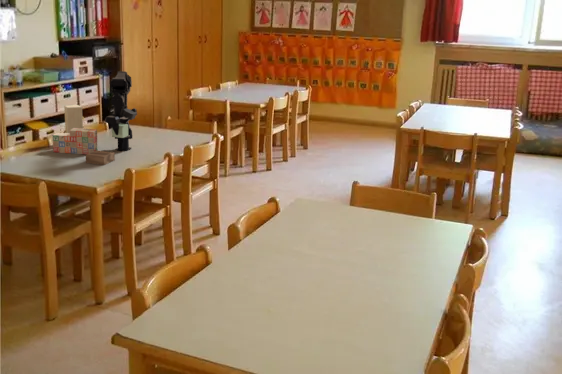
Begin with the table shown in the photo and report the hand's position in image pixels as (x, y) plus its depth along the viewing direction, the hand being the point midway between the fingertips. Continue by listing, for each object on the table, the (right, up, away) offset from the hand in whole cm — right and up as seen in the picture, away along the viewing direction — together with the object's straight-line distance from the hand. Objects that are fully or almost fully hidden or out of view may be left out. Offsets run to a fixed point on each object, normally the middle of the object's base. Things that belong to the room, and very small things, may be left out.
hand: (120, 133), depth 308 cm
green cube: (0, -1, 0) cm, 1 cm away
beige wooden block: (-31, -4, +24) cm, 39 cm away
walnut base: (-8, -14, -8) cm, 18 cm away
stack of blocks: (-25, -9, +8) cm, 28 cm away
